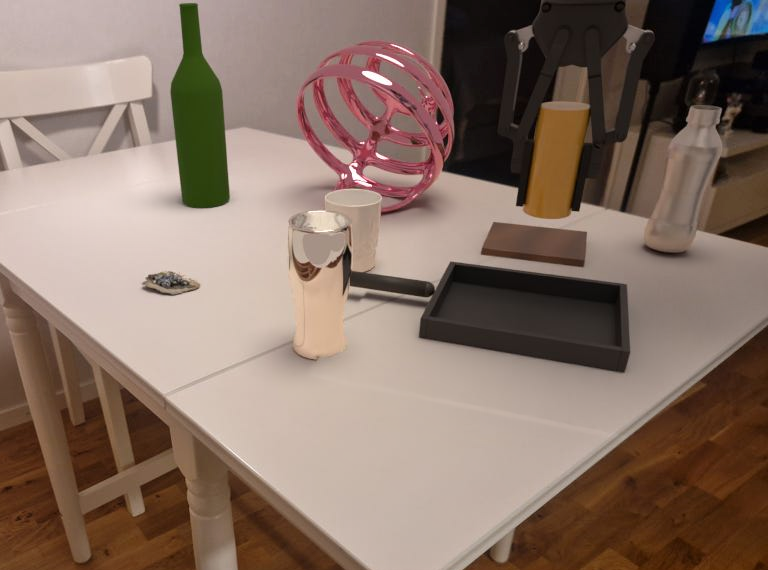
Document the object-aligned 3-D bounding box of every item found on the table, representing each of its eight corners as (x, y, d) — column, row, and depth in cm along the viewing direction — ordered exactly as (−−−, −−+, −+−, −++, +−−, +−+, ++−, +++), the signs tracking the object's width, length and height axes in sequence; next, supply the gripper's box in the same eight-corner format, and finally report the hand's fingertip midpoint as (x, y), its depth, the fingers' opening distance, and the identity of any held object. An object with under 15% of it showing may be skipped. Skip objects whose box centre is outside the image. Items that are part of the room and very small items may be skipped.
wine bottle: (238, 196, 125) (226, 1, 108) (212, 210, 118) (195, 5, 101) (199, 191, 128) (182, 1, 111) (172, 204, 121) (149, 5, 105)
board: (585, 240, 101) (587, 231, 100) (582, 270, 92) (584, 260, 91) (492, 230, 106) (493, 221, 105) (480, 257, 97) (481, 247, 96)
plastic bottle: (653, 238, 101) (691, 101, 91) (698, 250, 97) (744, 107, 87) (631, 248, 98) (668, 107, 88) (677, 261, 94) (721, 114, 83)
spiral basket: (345, 115, 91) (436, -18, 97) (231, 135, 112) (312, 25, 119) (436, 247, 107) (508, 126, 114) (321, 243, 129) (388, 141, 135)
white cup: (348, 280, 91) (350, 209, 85) (313, 263, 96) (313, 196, 91) (390, 266, 95) (394, 197, 89) (353, 250, 100) (356, 185, 95)
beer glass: (301, 328, 79) (300, 206, 71) (357, 337, 77) (362, 213, 69) (280, 356, 74) (275, 227, 66) (339, 366, 71) (342, 235, 64)
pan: (621, 305, 82) (627, 283, 81) (623, 376, 68) (630, 351, 67) (447, 281, 90) (450, 261, 88) (418, 341, 76) (420, 318, 74)
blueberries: (153, 273, 94) (151, 261, 93) (207, 276, 93) (206, 263, 92) (136, 293, 88) (134, 280, 88) (193, 296, 87) (192, 283, 86)
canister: (572, 206, 73) (592, 102, 67) (570, 221, 69) (591, 111, 64) (525, 202, 75) (541, 100, 69) (520, 216, 71) (537, 109, 65)
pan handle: (435, 294, 83) (437, 280, 82) (432, 301, 81) (433, 286, 80) (345, 281, 87) (345, 267, 86) (340, 287, 85) (340, 273, 84)
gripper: (483, -42, 60) (458, 207, 72) (710, -50, 54) (640, 224, 66) (495, -42, 66) (469, 188, 78) (700, -50, 59) (638, 202, 71)
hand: (547, 204), depth 72 cm, fingers closed on canister, 5 cm apart
